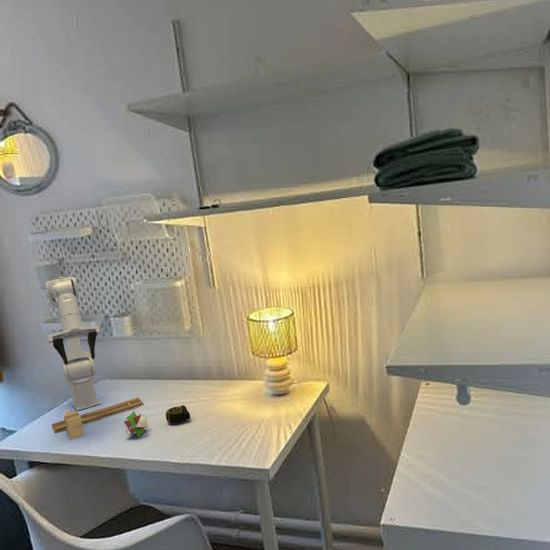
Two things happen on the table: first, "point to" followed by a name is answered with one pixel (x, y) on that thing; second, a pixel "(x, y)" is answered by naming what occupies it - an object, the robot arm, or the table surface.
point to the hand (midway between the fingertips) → (80, 360)
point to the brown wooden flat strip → (101, 413)
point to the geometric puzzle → (136, 424)
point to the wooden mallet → (73, 424)
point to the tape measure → (177, 414)
